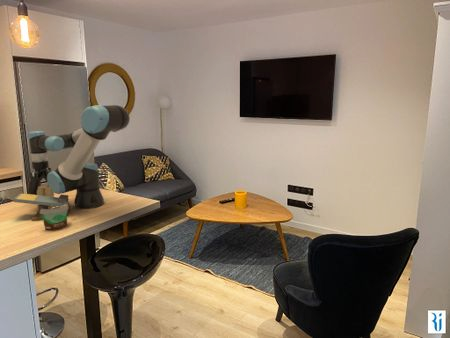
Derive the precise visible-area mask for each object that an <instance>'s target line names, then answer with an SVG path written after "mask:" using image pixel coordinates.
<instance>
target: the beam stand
mask: <svg viewBox="0 0 450 338" xmlns="http://www.w3.org/2000/svg"><path fill="white" fill-rule="evenodd" d="M67 204H68V207H69V208H68V209H67V217H69V214H70V212H71V209H70V202H68V203H67ZM37 209H38V210H37V211H36V212H35V214H34V215H33V216H32V218H31V222H36V221H38V222H39V221H43V217H42V214H40V210H41V209H48V205H39V206H38V205H37Z"/></svg>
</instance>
